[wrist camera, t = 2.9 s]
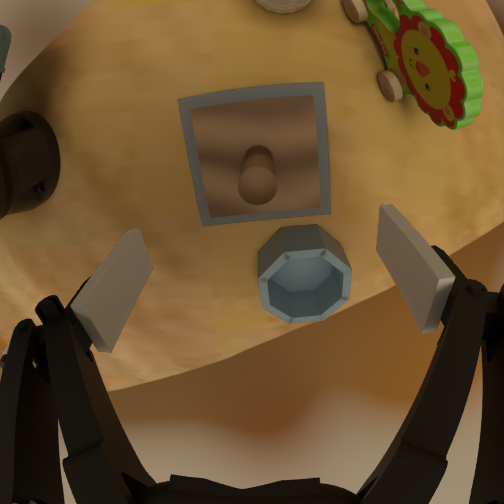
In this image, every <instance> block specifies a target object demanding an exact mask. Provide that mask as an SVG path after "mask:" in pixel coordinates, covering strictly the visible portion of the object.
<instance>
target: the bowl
mask: <svg viewBox="0 0 504 504" xmlns="http://www.w3.org/2000/svg"><path fill="white" fill-rule="evenodd" d="M351 275H352V269H351V266H350V264H349V262H348V259H347V257H346V255H345V253H344V250H343V248H342V246H341V244H340V243H339V242H338V241H336V240H335V239H334V238H333V237H332V236H330V235H329V234H328V233H327V232H326V231H324V230H323V229H322V228H321V227H320V226H318V225H317V224H314V225H302V226H291V227H281V228H280V229H279V230H278V231H277V232H276V233H275V234H274V236H273V237H272V238H271V239H270V240H269V241H268V242H267V243H266V244H265V245H264V246H263V247H262V248H261V249H260V251H259V252H258V282H259V289H260V297H261V304H262V308H263V309H265V310H266V311H268V312H270V313H272V314H273V315H275V316H277V317H278V318H280V319H282V320H284V321H285V322H287V323H289V324H292V323H303V322H313V321H322V320H324V319H326V318H327V317H328V316H330V315H331V314H332V313H333V312H334V311H336V310H337V309H338V308H339V307H341V306H342V305H343V304H344V303H345V302H347V301H348V300H349V296H350V286H351Z"/></svg>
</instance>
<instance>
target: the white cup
mask: <svg viewBox="0 0 504 504" xmlns="http://www.w3.org/2000/svg"><path fill="white" fill-rule="evenodd" d="M255 1H256V3H258V4H259V5H260V6H262V7H263V8H264V9H266V10H268V11H272V12H276V13H279V14H283V13H294V12H297V11H299V10H301V9H303V8H305V7H306V6H307V4H308V3H309V2H310V1H312V0H255Z"/></svg>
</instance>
